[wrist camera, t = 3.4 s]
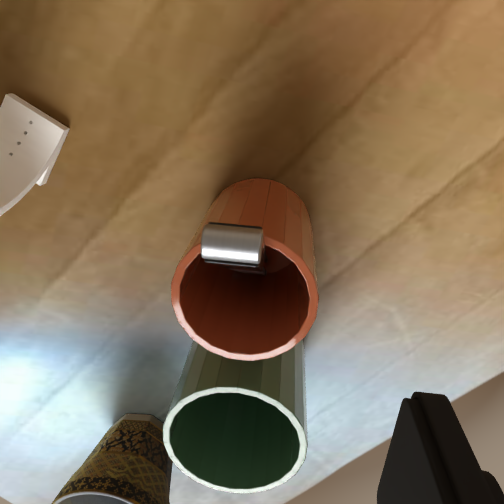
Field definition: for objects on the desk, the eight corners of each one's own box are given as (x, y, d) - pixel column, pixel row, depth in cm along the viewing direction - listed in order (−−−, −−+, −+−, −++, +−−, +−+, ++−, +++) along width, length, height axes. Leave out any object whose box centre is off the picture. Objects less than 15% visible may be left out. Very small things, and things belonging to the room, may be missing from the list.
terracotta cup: (317, 183, 32) (327, 240, 22) (304, 280, 36) (308, 368, 26) (208, 173, 33) (170, 225, 23) (205, 270, 36) (171, 352, 26)
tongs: (279, 142, 31) (261, 236, 14) (267, 272, 35) (242, 464, 18) (251, 140, 31) (200, 230, 14) (242, 269, 35) (195, 458, 18)
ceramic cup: (77, 432, 45) (23, 526, 36) (134, 382, 42) (90, 473, 33) (171, 498, 48) (143, 601, 39) (232, 457, 45) (216, 559, 36)
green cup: (310, 302, 36) (315, 396, 26) (297, 391, 40) (298, 501, 30) (197, 290, 37) (161, 378, 27) (195, 380, 41) (163, 484, 31)
